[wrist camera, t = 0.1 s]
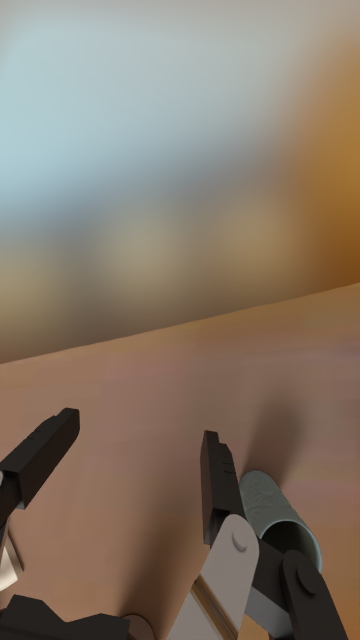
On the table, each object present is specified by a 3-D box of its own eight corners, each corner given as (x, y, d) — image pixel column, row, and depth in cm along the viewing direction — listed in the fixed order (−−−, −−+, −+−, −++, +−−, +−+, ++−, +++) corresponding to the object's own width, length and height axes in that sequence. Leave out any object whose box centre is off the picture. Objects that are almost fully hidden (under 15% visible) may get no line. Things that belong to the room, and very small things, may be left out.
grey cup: (260, 525, 37) (297, 613, 25) (224, 491, 38) (243, 560, 26) (288, 487, 38) (336, 555, 26) (252, 454, 39) (282, 505, 27)
